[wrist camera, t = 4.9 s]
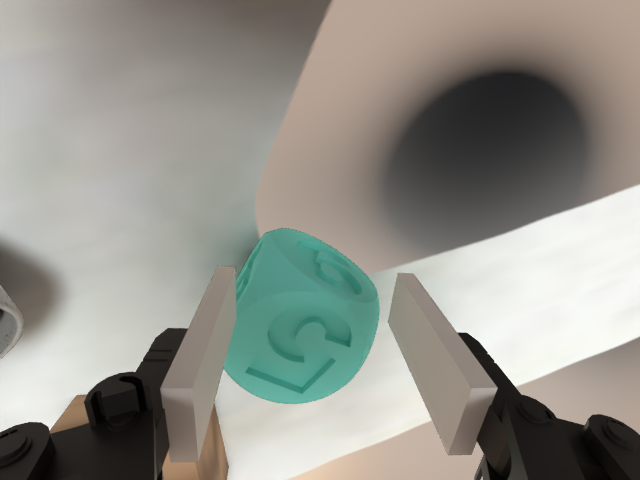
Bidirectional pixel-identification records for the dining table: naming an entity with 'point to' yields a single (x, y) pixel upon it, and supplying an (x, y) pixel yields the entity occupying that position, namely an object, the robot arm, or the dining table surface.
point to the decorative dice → (300, 319)
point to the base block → (178, 476)
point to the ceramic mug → (9, 323)
